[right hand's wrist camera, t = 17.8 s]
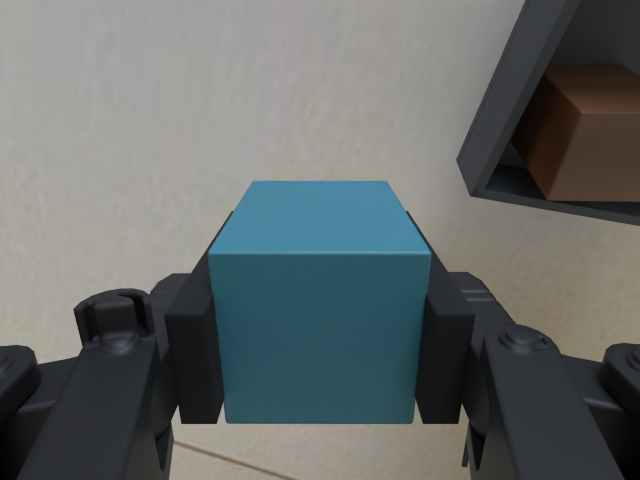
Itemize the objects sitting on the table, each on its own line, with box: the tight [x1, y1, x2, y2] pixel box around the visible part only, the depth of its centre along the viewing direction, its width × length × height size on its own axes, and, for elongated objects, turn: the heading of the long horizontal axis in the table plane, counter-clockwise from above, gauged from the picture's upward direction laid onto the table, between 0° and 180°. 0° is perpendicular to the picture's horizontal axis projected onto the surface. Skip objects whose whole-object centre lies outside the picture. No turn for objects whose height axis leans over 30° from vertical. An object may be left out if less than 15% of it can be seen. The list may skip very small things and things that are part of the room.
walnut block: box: [511, 65, 640, 202], centre depth 21 cm, size 4×4×6 cm
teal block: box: [207, 181, 432, 424], centre depth 12 cm, size 4×4×6 cm
